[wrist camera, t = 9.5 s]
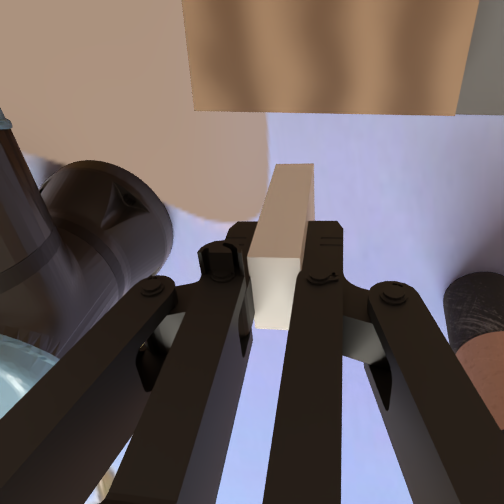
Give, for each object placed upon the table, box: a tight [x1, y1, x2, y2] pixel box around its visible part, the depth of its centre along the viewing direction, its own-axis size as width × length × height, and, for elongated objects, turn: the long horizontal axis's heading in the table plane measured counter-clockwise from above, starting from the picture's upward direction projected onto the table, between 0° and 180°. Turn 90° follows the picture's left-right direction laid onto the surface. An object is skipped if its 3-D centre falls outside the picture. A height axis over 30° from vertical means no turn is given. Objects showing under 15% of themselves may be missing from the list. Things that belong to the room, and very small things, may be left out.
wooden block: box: [182, 0, 479, 116], centre depth 32 cm, size 20×14×4 cm
